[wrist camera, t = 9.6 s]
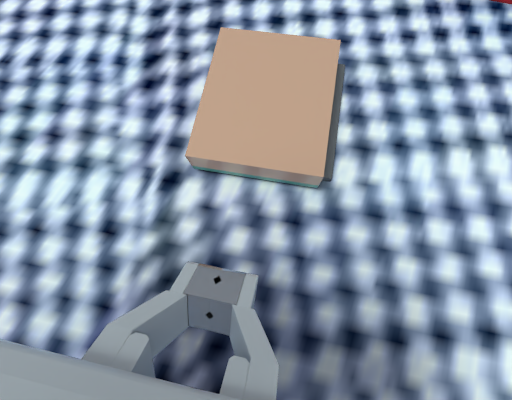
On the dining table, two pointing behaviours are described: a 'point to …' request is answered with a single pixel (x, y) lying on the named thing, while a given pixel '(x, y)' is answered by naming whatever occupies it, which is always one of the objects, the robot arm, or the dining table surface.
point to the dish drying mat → (504, 1)
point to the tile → (266, 107)
